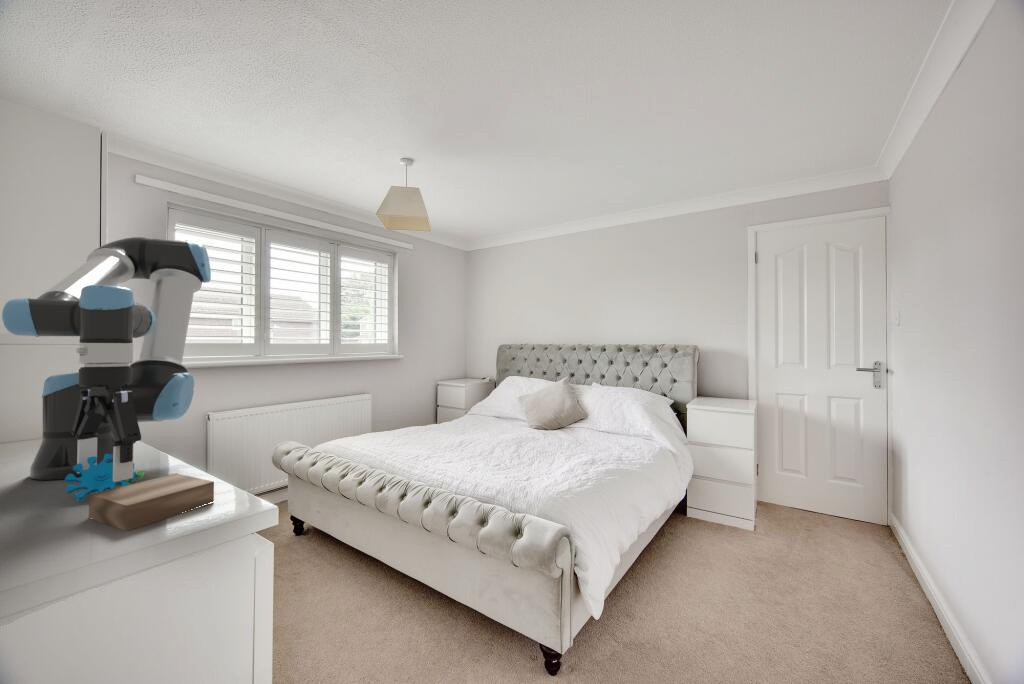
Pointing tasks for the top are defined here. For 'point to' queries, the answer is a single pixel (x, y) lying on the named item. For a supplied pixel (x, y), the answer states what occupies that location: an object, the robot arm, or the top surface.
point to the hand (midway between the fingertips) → (104, 475)
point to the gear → (97, 477)
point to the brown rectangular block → (149, 500)
